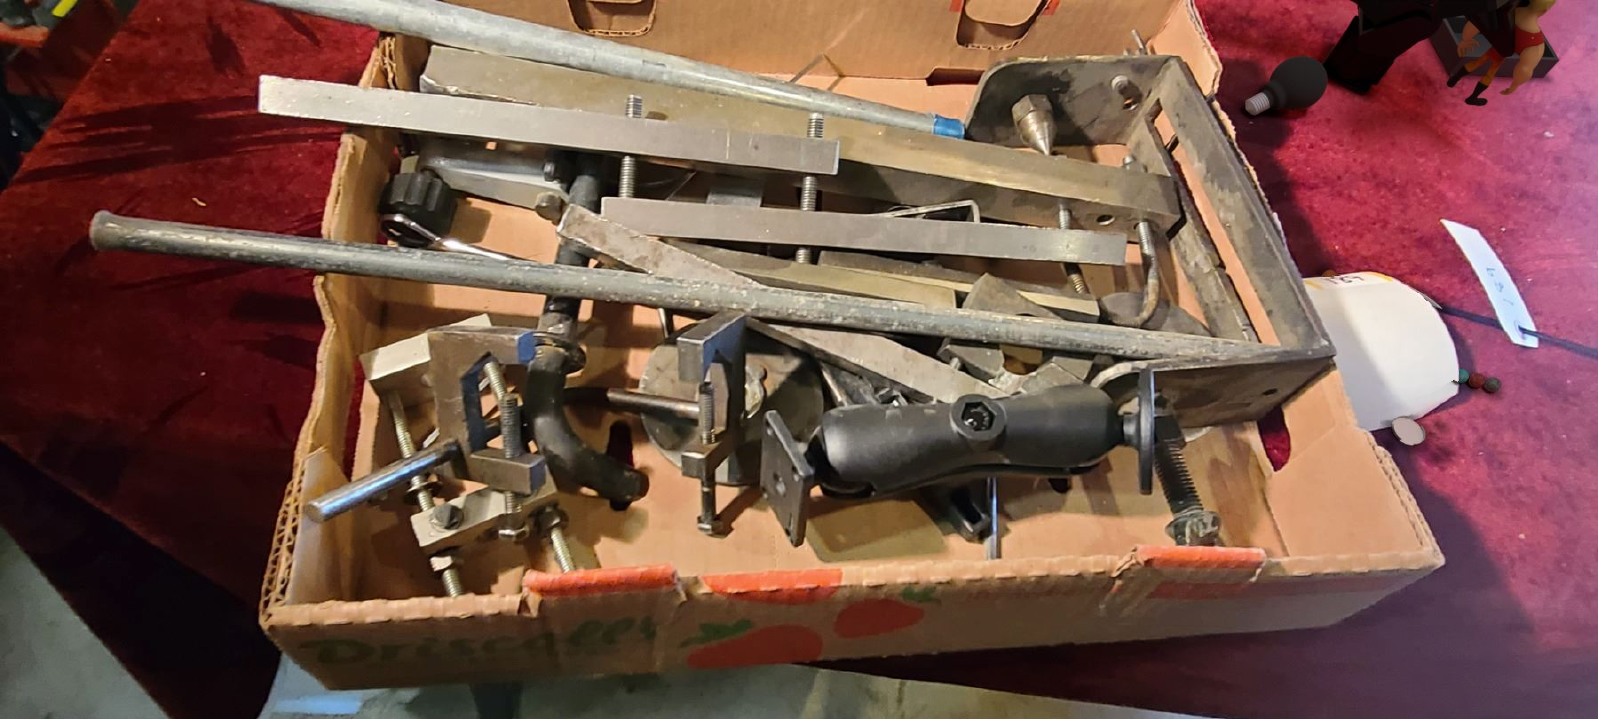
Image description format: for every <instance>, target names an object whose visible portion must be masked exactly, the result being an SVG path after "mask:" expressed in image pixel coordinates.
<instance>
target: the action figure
mask: <svg viewBox="0 0 1598 719" xmlns="http://www.w3.org/2000/svg"><path fill="white" fill-rule="evenodd" d="M1529 1H1530V4H1529V5H1528V6H1527V7H1517V8H1516V9H1515V50H1514V53H1516V54H1517V55H1520V61H1519V62H1518V63H1517V65H1516V66H1515V68H1514V72H1513V77H1512V79H1513V80H1512V82H1511V84H1510V86H1509V87H1507V88H1505V89H1504V90H1501V91H1499V94H1500V95H1502V96H1509V95H1512V94H1513V93H1514V92H1515V91H1517V89H1518V88H1519V87H1520V86H1521V85H1523V84H1525V83H1527V82H1528V81H1529V80H1531V78H1532V77H1531V76H1532V74H1533V69H1534V68H1535V67H1536V66H1537V64H1538V63H1539V61H1540V59H1541V57H1542V56H1543V52H1544V42H1545V40H1544V37H1543V34H1544V33H1543V34H1542V32H1543V30H1542V29H1541V27H1540V25H1539V23H1538V22H1539V20H1538V19H1539V18H1540V17H1543V16H1544V15H1546V13H1547V12H1549V11H1550V10H1551V9H1552V7H1553V6H1554V5H1555V4H1557V0H1529ZM1538 25H1539V26H1538ZM1539 27H1540V28H1539ZM1540 29H1541V30H1542V31H1541V30H1540ZM1479 32H1480V31H1479V30H1478V29H1477V28H1476V27H1475V26H1474V25H1473V24H1472V23H1471V22H1470V21H1468V23H1467V24H1466V25H1465V27H1464V29H1463V33H1462V38H1463V40H1462V41H1461V42H1460V44H1459V46H1458V50H1457V51H1458V55H1459V57H1461V56H1462V57H1464V48H1465V55H1468V47H1470V50H1471V52H1473V51H1474V50H1473V44H1475V46H1476V47H1479V43H1478V42H1477V41H1476V40H1474V39H1472V37H1473V36H1475V35H1476V34H1478V33H1479ZM1460 49H1461V50H1460ZM1490 59H1491V60H1492V64H1491V66H1490V68H1489V70H1488V72H1487V74H1486V75H1485V76H1482V77H1481V78H1480V79H1479V80H1478V81H1477V83H1476V85H1475V87H1474V89H1473V91H1472V93H1471V94H1470V95H1468V97H1466V98H1465V99H1464V101H1463V102H1464V103H1465V105H1469V106H1476V107H1483V106H1486V105H1487V104H1488V99H1487V98H1485V97H1479V96H1480V95H1481V94H1482V93H1483V92H1485V91H1486V90H1487V89H1489V88H1490V85H1491V84H1492V83H1493V80H1494V77H1495V76H1494V75H1495V73H1496V71H1497V70H1498V69H1499V67H1500V66H1501V64H1502V63H1503V61H1504V60H1505V59H1506V57H1504V58H1503V57H1501V56H1500V54H1499V53H1498V52H1497V51H1496V50H1495V49H1494V47H1493V46H1492V47H1490V48H1489V49H1488V50H1487V51H1486V52H1485V53H1484V54H1483V55H1482V56H1481V57H1480V58H1479V59H1478V60H1476V61H1472V62H1469V63H1467V64H1466V65H1463V66H1462V67H1461V68H1460V69H1459V71H1458V72H1457V74H1454V75H1452V74H1451V75H1450V76H1449V77H1448V79H1447V81H1446V82H1445V85H1446V87H1448V88H1449V89H1452V88H1454V87H1455V86H1457V84H1458V82H1460V81H1461V79H1462V78H1464V77H1466V76H1469V75H1468V74H1469V73H1471V72H1472V71H1473V70H1475V69H1476V68H1477V67H1479V66H1480V65H1482V64H1484V63H1486V62H1487V61H1489V60H1490Z"/></svg>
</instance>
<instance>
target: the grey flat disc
mask: <svg viewBox="0 0 1598 719" xmlns="http://www.w3.org/2000/svg"><path fill="white" fill-rule="evenodd" d="M1390 428H1391V431H1392V434H1393V435H1394V437H1395V438H1396V439H1397V440H1398V441H1399V442H1401V443H1402V444H1405V445H1407V446H1418V445H1419V444H1421V443H1422V442H1424V441H1425V439H1426V431H1425V428H1424V427H1423V425H1419V424H1418V423H1417V422H1416V421H1414V420H1413V419H1411V416H1408V415H1400V416H1397V417H1396V418H1395V419H1394V420H1393V421H1392V423H1391V427H1390Z"/></svg>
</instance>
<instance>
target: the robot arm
mask: <svg viewBox="0 0 1598 719" xmlns="http://www.w3.org/2000/svg"><path fill="white" fill-rule="evenodd" d="M1349 1H1350V2H1352V3H1354V4H1355V5H1357V8H1356V9H1357V15H1356V14H1355V15H1354V16H1353V18H1352V19H1351V21H1350V22H1349V23H1348V25H1347V27H1346V28H1345V30H1344V31H1343V33H1342V34H1341V35H1340V37H1339V39H1338V40H1337V41H1336V43H1335V44H1333V45H1332V46H1331V48H1330V49H1329V51H1328V53H1327V55H1326V57H1325V58H1324V59H1323V61H1322V63H1321V64H1322V65H1323V67H1324V68H1325V70H1326V72H1327V77H1328V80H1330V81H1332V82H1335V83H1337V84H1339V85H1341V86H1343V87H1345V88H1347V89H1349V90H1352V91H1354V92H1356V93H1357V94H1359V95H1362V96H1366V95H1367V94H1368V93H1369V92H1370V90H1371V88H1372V86H1374V87H1375V86H1377V85H1379V83H1380V82H1381V81H1382V79H1383V78H1384V77H1385V75H1386V74H1387V72H1388V71H1389V70H1390V68H1391V67H1392V66H1393V65H1394V63H1395V61H1396V60H1397V58H1398V57H1400V56H1401V55H1403V54H1404V53H1406V52H1407V51H1408V50H1410V49H1411V48H1413V47H1414V46H1416V45H1417V44H1419V43H1420V42H1422V41H1425V40H1427V39H1430V38H1429V37H1430V36H1432V35H1433V34H1434V33H1435V32H1436V31H1437V30H1438V29H1439V28H1440V25H1441V23H1442V19H1446V18H1452V17H1458V16H1465V17H1466V18H1467V19H1468V20H1469V21H1470V22H1471V23H1472V24H1473V25H1474V26H1475V27H1476V28H1477V29H1478V30H1479V31H1480V32H1481V34H1482V35H1483V36H1484V37H1485V38H1486V39H1487V40H1488V42H1489V43H1490V44H1491V45H1492V46H1493V47H1494V49H1495V50H1496V51H1497V52H1498V53H1499V54H1500V56H1501V57H1503V58H1504V57H1511V56H1513V55H1514V50H1515V9H1516V8H1517V7H1527V6H1528V5H1529V4H1530V1H1529V0H1349Z"/></svg>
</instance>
